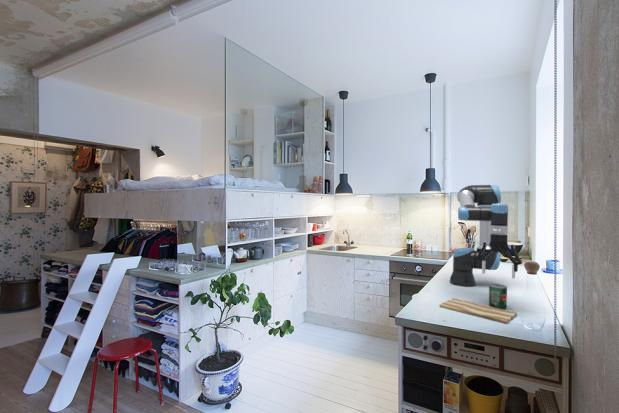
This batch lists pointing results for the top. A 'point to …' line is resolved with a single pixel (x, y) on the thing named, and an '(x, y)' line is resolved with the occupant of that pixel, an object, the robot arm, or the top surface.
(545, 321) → the top surface
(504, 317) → the board
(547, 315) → the top surface
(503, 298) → the canned tomato
